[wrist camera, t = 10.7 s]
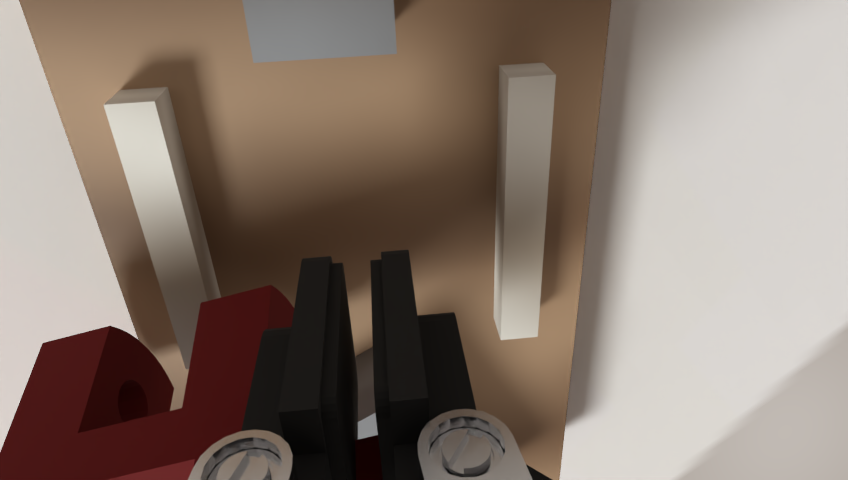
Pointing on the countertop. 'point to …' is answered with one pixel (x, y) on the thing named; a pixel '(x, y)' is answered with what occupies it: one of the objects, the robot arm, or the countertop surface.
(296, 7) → the jig
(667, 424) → the countertop surface
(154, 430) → the bracket
